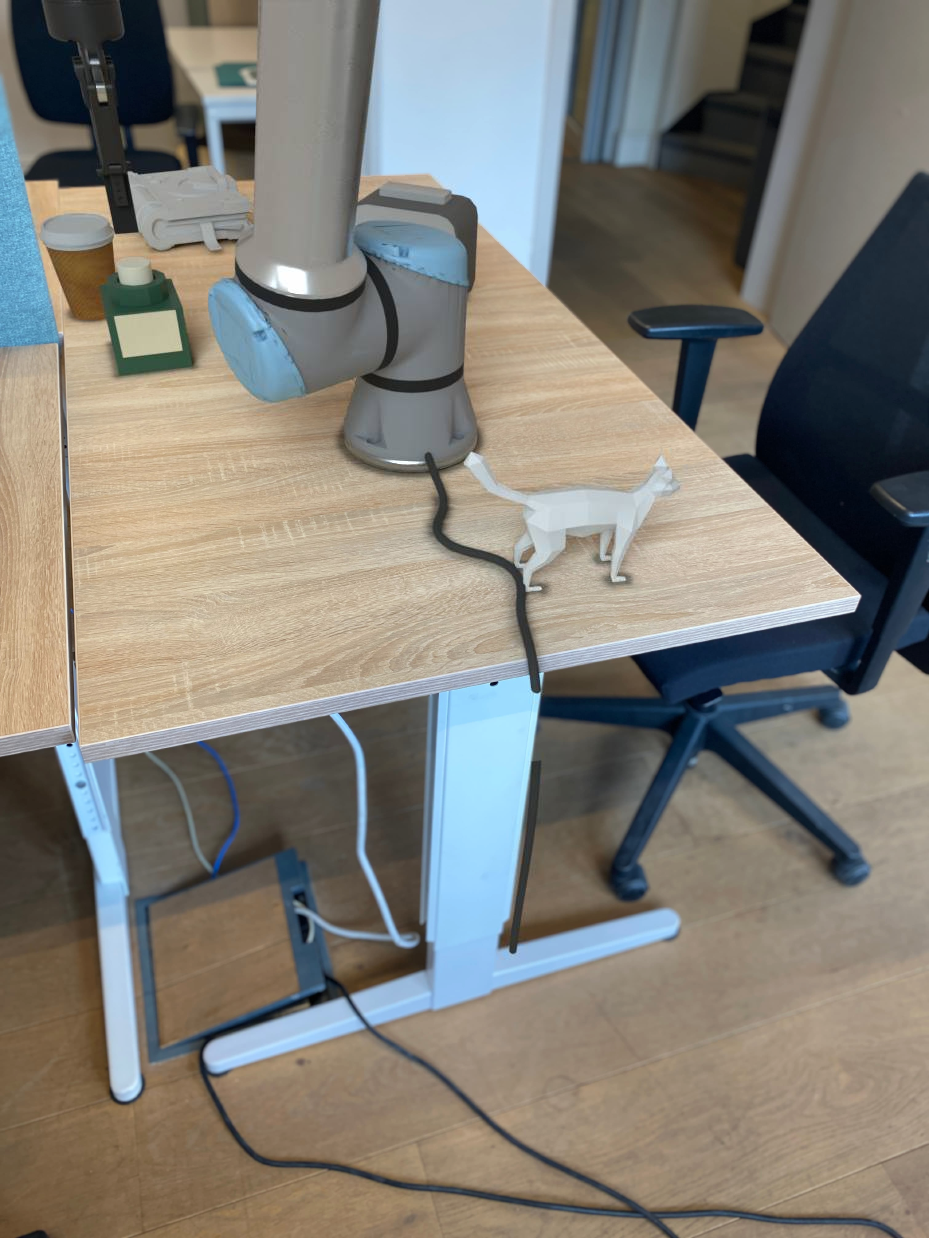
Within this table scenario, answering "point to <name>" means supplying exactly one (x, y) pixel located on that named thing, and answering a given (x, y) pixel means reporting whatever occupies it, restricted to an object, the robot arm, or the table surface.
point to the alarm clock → (425, 213)
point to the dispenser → (144, 301)
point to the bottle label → (148, 333)
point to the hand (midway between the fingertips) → (126, 231)
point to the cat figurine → (578, 514)
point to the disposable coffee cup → (81, 259)
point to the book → (189, 207)
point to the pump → (134, 271)
